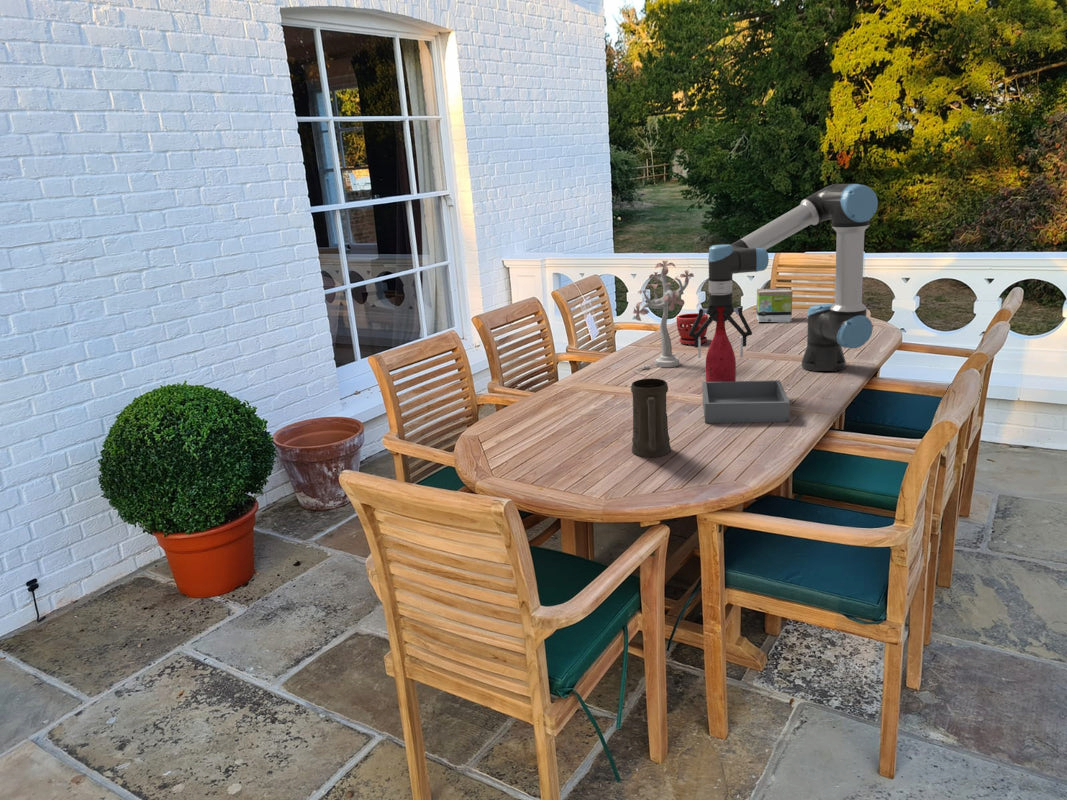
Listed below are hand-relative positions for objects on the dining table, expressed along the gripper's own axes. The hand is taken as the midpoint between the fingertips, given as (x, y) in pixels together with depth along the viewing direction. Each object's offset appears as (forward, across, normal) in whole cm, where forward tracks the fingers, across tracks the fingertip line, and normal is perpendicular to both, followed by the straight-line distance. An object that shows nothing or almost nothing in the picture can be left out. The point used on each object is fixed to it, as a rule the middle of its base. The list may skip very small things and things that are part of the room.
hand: (720, 356), depth 267 cm
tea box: (+12, +30, +116) cm, 121 cm away
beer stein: (+13, -21, -58) cm, 63 cm away
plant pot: (+13, -8, +76) cm, 78 cm away
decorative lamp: (+13, -20, +38) cm, 45 cm away
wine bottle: (+13, 0, 0) cm, 13 cm away
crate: (+12, +6, -20) cm, 24 cm away
